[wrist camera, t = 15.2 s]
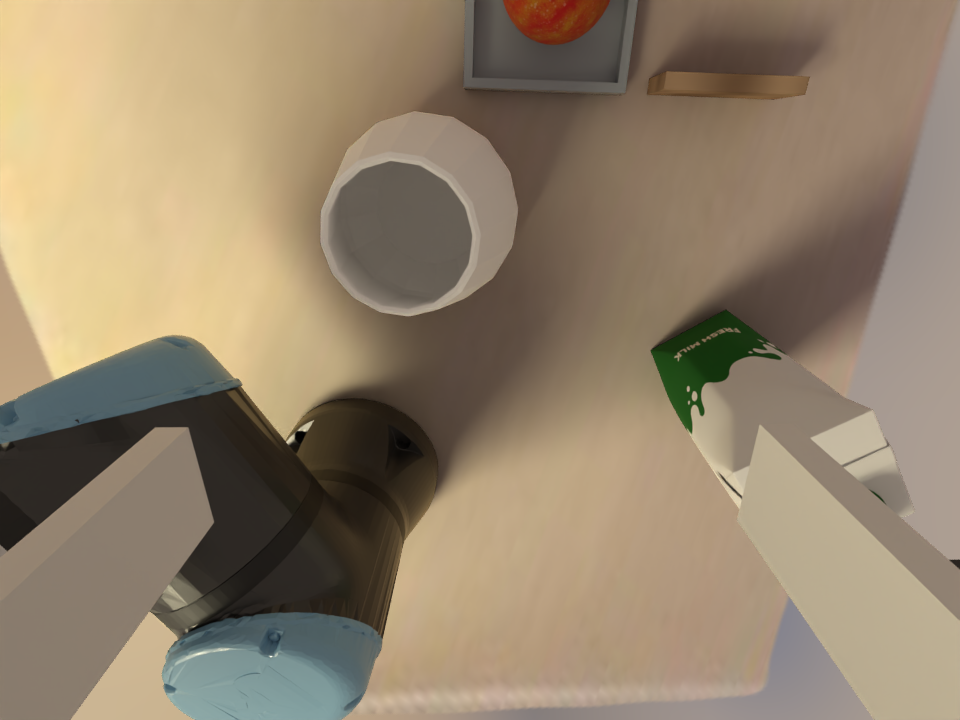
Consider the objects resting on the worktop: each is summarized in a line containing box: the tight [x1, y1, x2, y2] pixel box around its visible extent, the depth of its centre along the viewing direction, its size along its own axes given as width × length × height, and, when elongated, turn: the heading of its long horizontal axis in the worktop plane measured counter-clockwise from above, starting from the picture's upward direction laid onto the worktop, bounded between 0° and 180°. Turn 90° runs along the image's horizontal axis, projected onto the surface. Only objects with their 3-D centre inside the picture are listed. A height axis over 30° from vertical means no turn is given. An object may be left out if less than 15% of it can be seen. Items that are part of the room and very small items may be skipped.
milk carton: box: [651, 310, 915, 518], centre depth 35 cm, size 9×9×20 cm
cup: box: [320, 111, 518, 316], centre depth 33 cm, size 13×13×14 cm
